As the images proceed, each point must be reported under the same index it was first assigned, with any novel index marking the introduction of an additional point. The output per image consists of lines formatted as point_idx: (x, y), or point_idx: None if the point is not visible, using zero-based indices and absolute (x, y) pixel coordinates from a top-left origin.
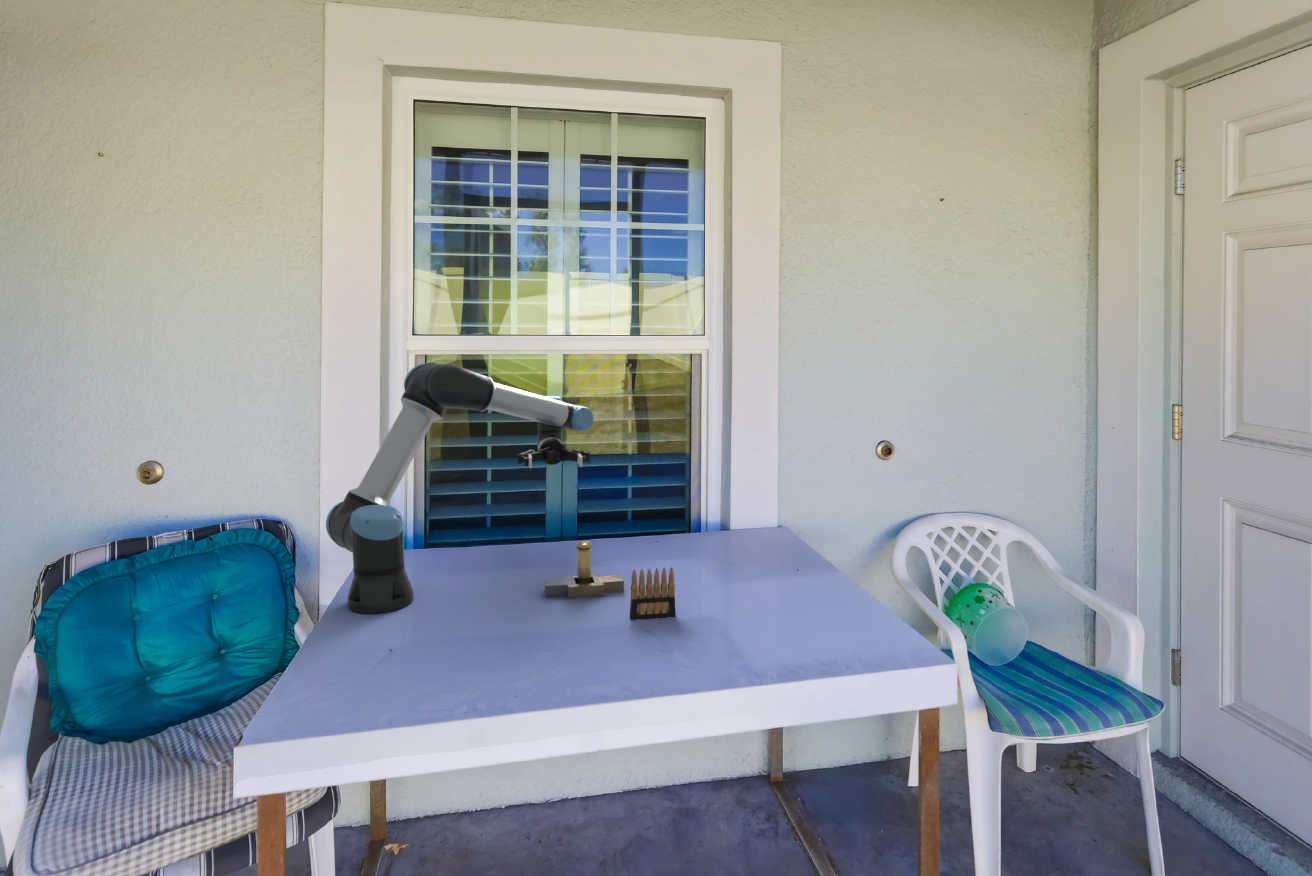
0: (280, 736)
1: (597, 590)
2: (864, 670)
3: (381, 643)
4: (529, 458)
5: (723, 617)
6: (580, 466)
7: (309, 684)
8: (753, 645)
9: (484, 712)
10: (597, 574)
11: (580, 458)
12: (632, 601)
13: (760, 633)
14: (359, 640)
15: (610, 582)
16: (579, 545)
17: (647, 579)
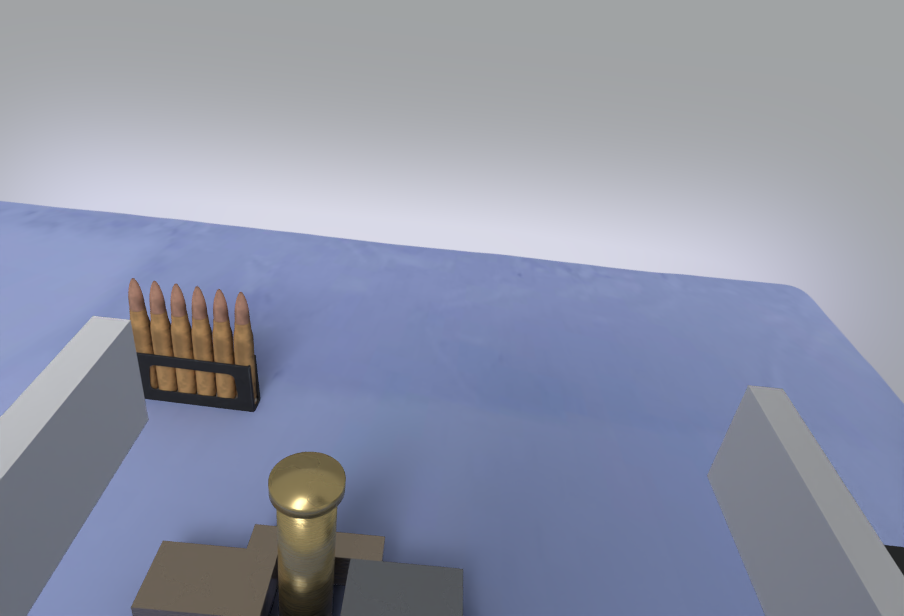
0: (775, 285)
1: None
2: (18, 205)
3: None
4: (777, 392)
5: (36, 357)
6: (137, 416)
7: (836, 358)
8: (98, 274)
9: (555, 263)
10: None
11: (122, 335)
12: (254, 358)
13: (39, 295)
14: (879, 468)
15: (216, 548)
16: (334, 461)
17: (206, 311)
